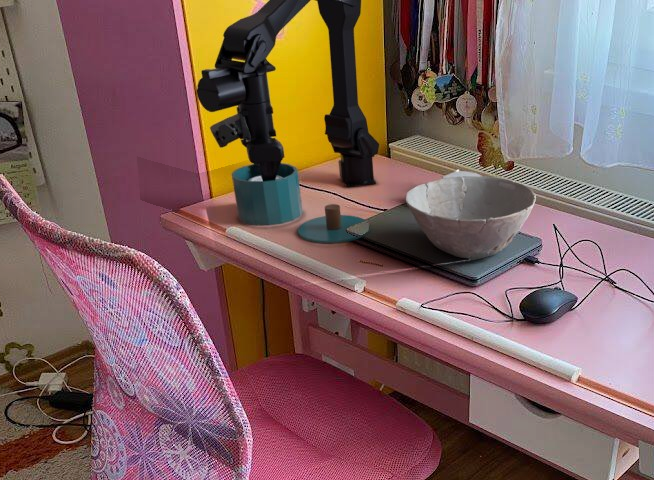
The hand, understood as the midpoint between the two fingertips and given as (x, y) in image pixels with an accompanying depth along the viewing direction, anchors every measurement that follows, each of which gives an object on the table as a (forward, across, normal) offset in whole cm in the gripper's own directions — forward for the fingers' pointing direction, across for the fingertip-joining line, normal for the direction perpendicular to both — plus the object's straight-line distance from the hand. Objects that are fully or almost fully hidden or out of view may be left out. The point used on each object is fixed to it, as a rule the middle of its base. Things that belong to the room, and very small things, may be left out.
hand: (266, 184), depth 165 cm
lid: (+6, +13, +10) cm, 17 cm away
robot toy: (+7, +5, +36) cm, 37 cm away
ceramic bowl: (+7, +30, +31) cm, 44 cm away
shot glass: (+6, 0, 0) cm, 6 cm away
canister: (+6, 0, 0) cm, 6 cm away
